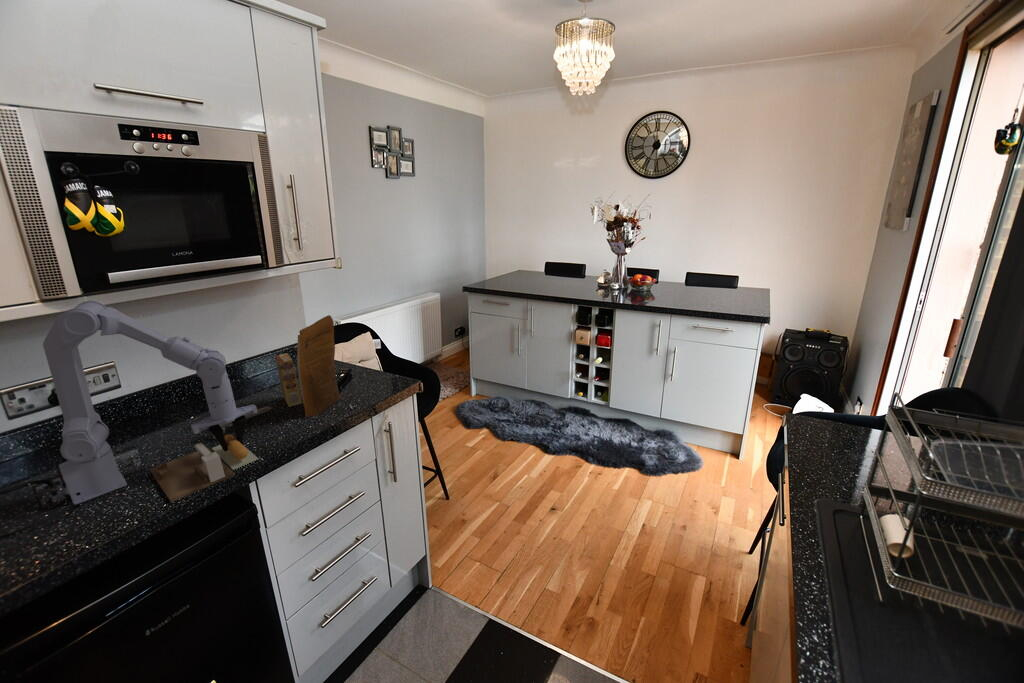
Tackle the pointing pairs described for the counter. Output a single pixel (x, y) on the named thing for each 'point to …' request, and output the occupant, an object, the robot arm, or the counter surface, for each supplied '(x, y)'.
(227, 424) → the caliper
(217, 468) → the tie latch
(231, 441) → the orange sausage
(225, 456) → the mat
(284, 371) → the candy box
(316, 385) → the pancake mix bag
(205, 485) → the clamp board
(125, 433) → the counter surface
